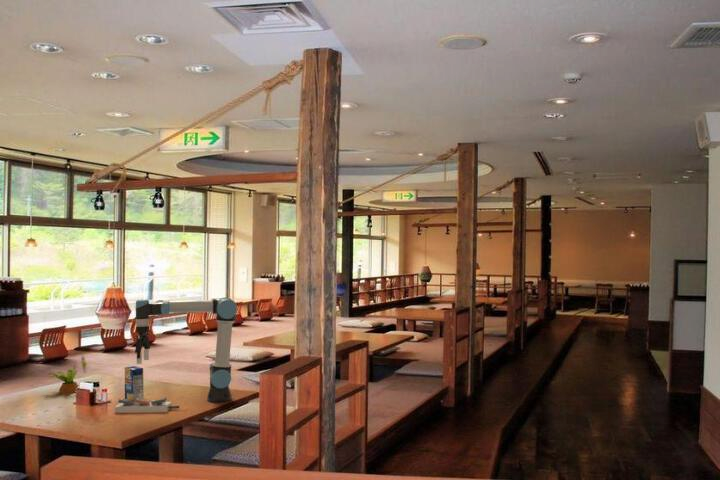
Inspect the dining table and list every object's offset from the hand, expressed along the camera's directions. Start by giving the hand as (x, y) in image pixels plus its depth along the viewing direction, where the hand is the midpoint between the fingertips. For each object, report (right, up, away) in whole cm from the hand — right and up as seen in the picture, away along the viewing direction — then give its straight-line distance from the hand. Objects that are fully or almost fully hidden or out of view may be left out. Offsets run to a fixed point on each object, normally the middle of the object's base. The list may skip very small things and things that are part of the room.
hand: (142, 361), depth 399 cm
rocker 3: (+10, -23, -2) cm, 25 cm away
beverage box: (-11, -29, +16) cm, 35 cm away
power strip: (+4, -28, -1) cm, 29 cm away
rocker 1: (-9, -23, -2) cm, 25 cm away
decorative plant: (-67, -30, +52) cm, 90 cm away
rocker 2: (+1, -23, -2) cm, 23 cm away
